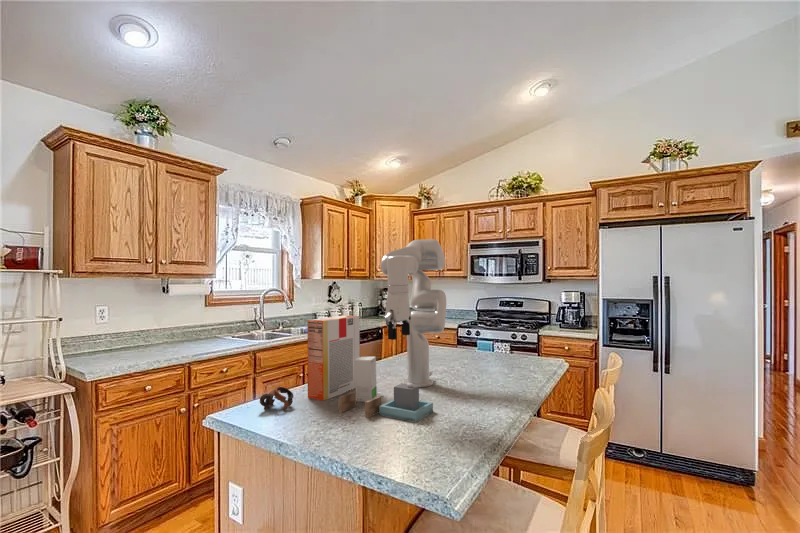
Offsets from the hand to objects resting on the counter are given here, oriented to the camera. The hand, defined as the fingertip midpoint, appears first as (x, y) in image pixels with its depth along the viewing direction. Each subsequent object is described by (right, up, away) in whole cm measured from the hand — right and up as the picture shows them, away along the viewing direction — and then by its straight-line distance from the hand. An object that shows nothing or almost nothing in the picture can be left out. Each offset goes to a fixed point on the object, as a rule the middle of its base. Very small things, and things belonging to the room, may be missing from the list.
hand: (399, 337), depth 147 cm
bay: (-13, -24, -7) cm, 29 cm away
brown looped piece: (-44, -25, -3) cm, 51 cm away
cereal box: (-26, -26, +18) cm, 41 cm away
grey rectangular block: (+2, -23, -10) cm, 25 cm away
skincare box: (-13, -25, +7) cm, 29 cm away
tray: (+2, -24, -10) cm, 26 cm away
